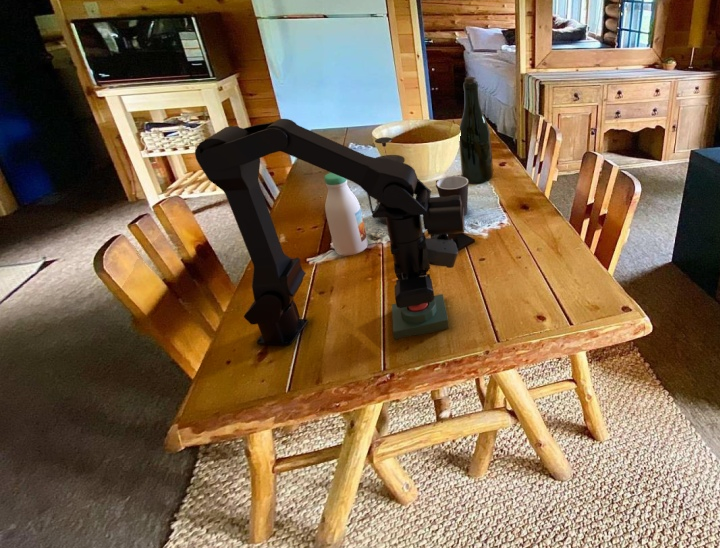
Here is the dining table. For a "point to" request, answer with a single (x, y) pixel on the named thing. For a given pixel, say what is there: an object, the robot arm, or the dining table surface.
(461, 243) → the lever switch
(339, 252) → the milk bottle
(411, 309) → the button
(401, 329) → the button box
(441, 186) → the coffee mug
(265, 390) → the dining table surface
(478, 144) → the wine bottle
